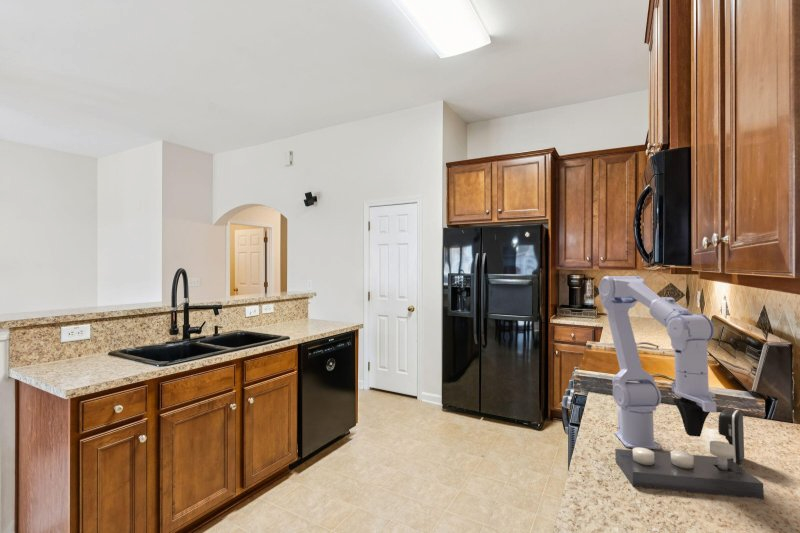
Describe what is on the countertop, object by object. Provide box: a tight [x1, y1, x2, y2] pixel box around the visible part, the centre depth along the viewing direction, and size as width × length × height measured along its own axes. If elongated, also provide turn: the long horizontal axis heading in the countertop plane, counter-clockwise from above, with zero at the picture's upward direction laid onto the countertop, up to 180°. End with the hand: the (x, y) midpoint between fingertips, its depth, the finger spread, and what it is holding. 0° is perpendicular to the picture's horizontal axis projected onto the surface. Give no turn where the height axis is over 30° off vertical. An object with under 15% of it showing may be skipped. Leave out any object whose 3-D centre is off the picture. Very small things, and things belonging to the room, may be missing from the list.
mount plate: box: [614, 448, 765, 500], centre depth 83 cm, size 11×23×3 cm, turn 78°
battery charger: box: [717, 408, 745, 466], centre depth 92 cm, size 7×4×11 cm, turn 131°
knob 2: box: [709, 440, 735, 470], centre depth 82 cm, size 4×4×5 cm
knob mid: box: [670, 449, 694, 468], centre depth 83 cm, size 4×4×5 cm
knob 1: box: [632, 447, 655, 465], centre depth 85 cm, size 4×4×5 cm
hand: (693, 435), depth 83 cm, fingers closed
